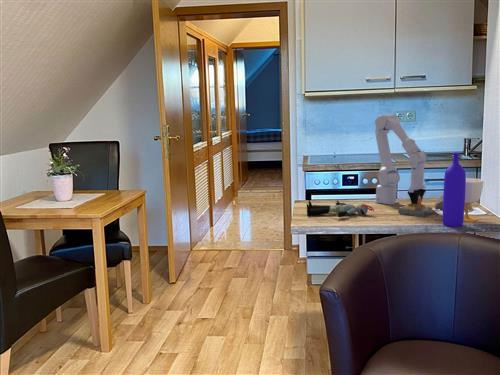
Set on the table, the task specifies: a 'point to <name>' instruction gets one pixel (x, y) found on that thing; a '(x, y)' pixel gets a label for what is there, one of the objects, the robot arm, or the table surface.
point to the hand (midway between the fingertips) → (416, 205)
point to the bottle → (454, 194)
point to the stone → (440, 204)
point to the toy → (337, 209)
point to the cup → (472, 194)
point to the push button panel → (415, 210)
